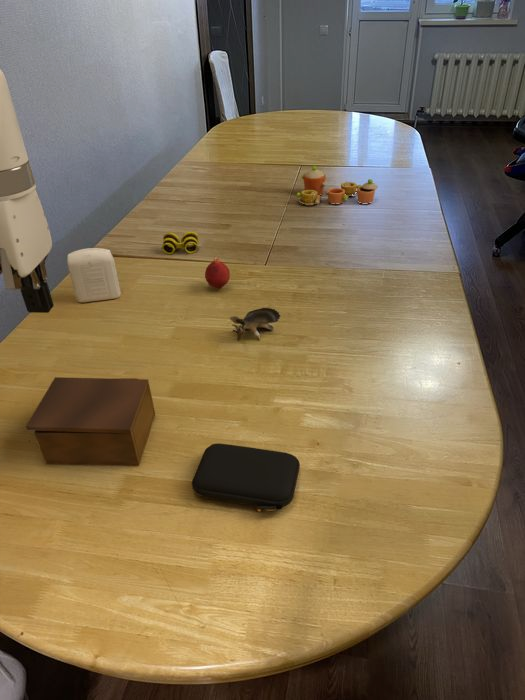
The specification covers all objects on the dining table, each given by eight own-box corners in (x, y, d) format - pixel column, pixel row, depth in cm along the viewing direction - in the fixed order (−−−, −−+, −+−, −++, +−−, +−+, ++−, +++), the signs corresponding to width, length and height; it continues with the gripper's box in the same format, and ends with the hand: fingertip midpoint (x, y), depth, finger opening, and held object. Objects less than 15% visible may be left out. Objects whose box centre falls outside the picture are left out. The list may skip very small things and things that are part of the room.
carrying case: (186, 505, 73) (289, 522, 70) (183, 491, 71) (289, 508, 68) (208, 450, 81) (301, 463, 78) (207, 436, 79) (301, 449, 77)
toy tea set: (295, 207, 167) (296, 177, 161) (297, 191, 179) (297, 163, 174) (377, 207, 164) (380, 176, 159) (373, 191, 177) (375, 162, 171)
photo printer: (121, 290, 125) (111, 242, 118) (121, 299, 122) (110, 250, 114) (77, 296, 123) (64, 248, 116) (76, 305, 120) (62, 256, 113)
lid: (26, 430, 76) (25, 426, 75) (56, 380, 85) (55, 377, 85) (130, 433, 75) (130, 429, 75) (149, 383, 85) (148, 379, 84)
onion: (225, 296, 121) (222, 265, 116) (202, 292, 123) (199, 262, 118) (234, 284, 125) (232, 254, 121) (212, 281, 127) (209, 251, 122)
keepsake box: (46, 464, 80) (33, 432, 76) (72, 413, 89) (62, 382, 85) (139, 465, 79) (131, 433, 75) (155, 414, 89) (149, 383, 85)
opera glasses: (163, 257, 141) (160, 242, 138) (164, 246, 145) (161, 231, 141) (198, 256, 141) (196, 240, 138) (199, 244, 145) (197, 229, 141)
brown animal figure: (253, 348, 101) (287, 325, 105) (235, 317, 100) (270, 294, 103) (238, 350, 108) (270, 327, 112) (221, 320, 107) (254, 299, 110)
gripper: (-2, 161, 69) (36, 284, 79) (-65, 201, 56) (-10, 339, 67) (54, 161, 68) (84, 284, 79) (1, 201, 56) (46, 340, 67)
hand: (41, 309), depth 73 cm, fingers closed
